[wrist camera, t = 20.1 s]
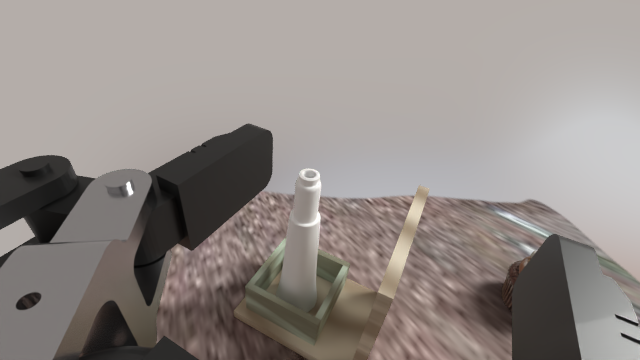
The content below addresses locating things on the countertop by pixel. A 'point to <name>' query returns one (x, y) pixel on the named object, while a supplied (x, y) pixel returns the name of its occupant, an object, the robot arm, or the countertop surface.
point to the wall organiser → (328, 302)
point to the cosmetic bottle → (302, 244)
